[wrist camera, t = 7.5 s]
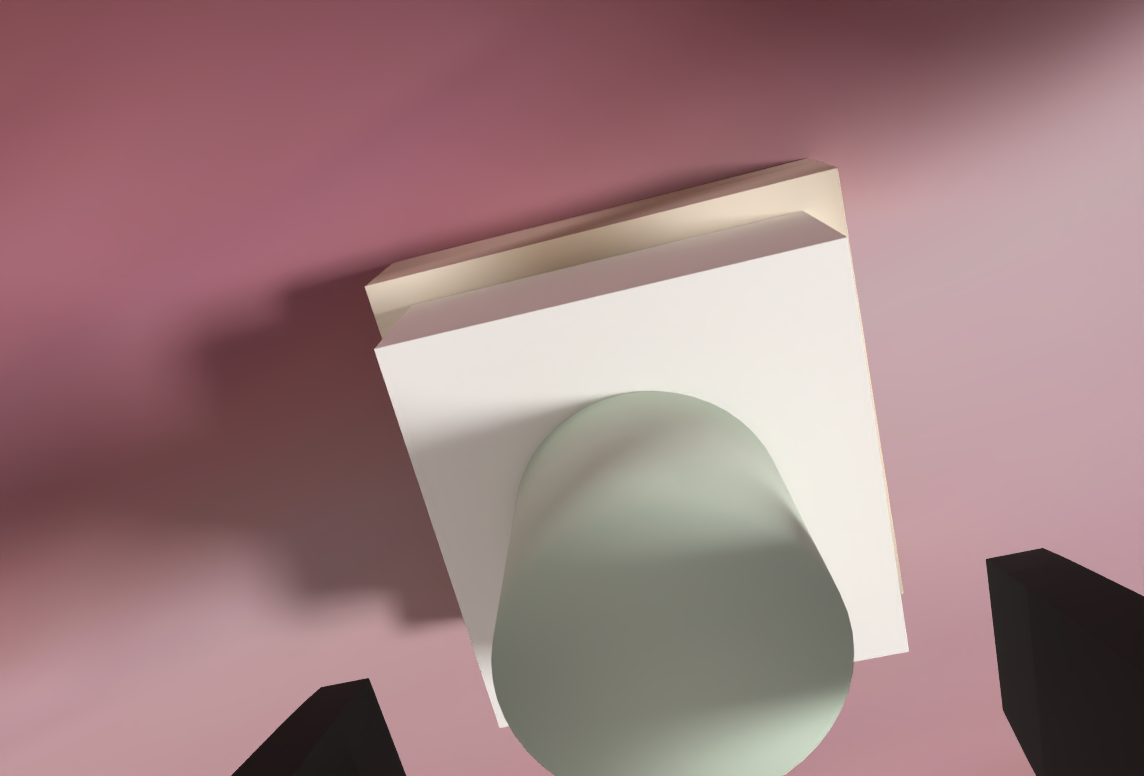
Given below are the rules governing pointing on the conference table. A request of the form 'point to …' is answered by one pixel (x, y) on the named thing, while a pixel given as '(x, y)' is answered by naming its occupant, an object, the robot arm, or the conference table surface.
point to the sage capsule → (665, 601)
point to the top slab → (653, 363)
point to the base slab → (618, 241)
